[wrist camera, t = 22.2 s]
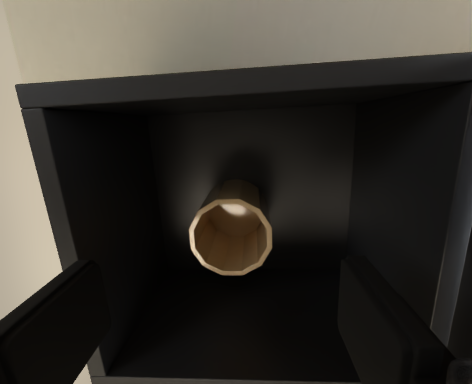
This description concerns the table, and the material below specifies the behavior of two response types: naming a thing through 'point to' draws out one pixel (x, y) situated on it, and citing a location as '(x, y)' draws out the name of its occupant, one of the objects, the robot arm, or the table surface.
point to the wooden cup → (232, 229)
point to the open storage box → (277, 196)
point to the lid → (463, 312)
